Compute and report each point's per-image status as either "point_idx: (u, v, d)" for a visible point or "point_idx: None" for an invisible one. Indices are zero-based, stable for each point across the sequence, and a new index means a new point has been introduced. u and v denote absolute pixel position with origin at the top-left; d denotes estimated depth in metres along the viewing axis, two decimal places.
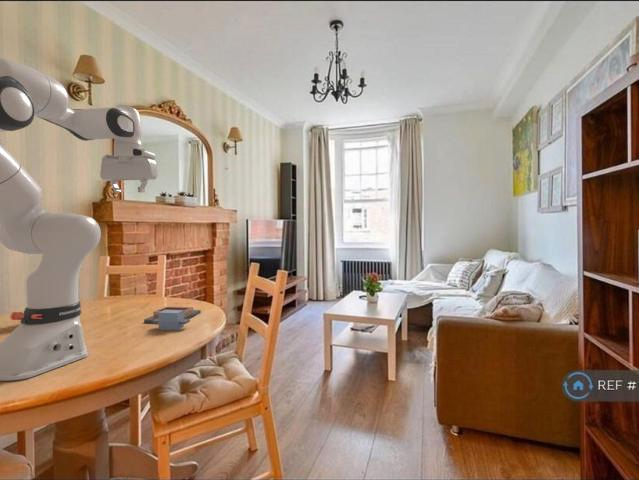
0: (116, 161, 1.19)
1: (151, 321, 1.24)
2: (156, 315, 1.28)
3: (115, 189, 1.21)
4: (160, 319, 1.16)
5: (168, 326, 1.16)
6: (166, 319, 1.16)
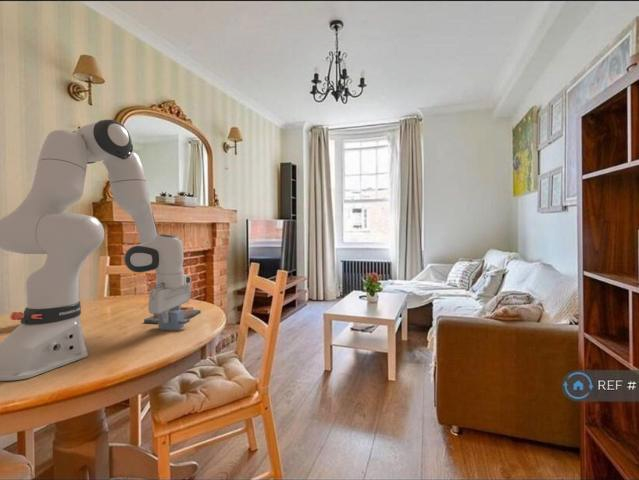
0: (170, 291, 1.14)
1: (151, 321, 1.24)
2: (156, 315, 1.28)
3: (169, 319, 1.15)
4: (160, 319, 1.16)
5: (168, 326, 1.16)
6: None
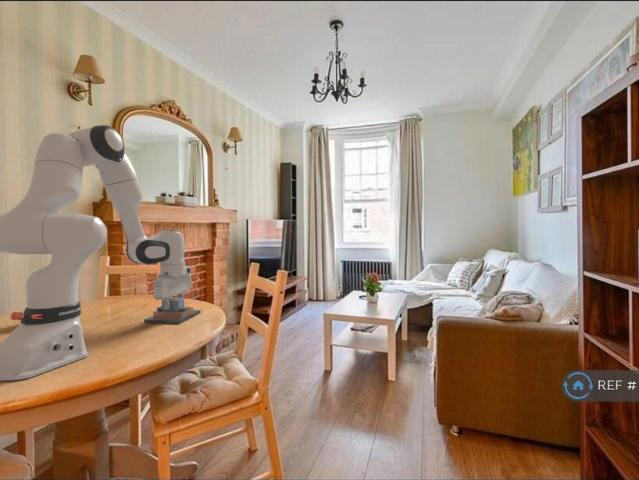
0: (172, 280, 1.27)
1: (151, 321, 1.24)
2: (156, 315, 1.28)
3: (169, 306, 1.27)
4: (163, 306, 1.30)
5: None
6: None
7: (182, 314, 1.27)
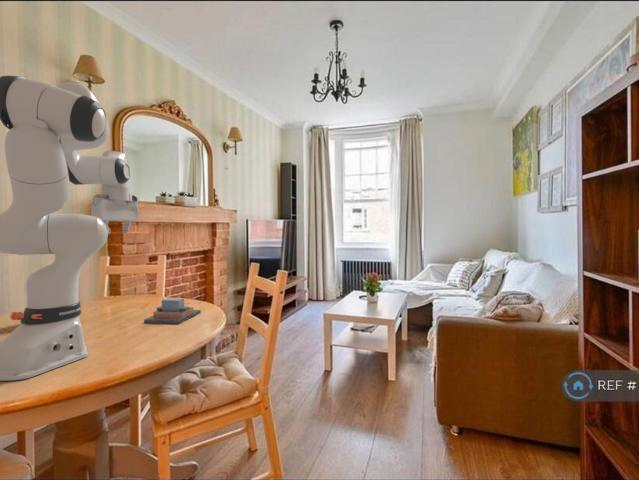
0: (113, 203, 1.22)
1: (151, 321, 1.24)
2: (156, 315, 1.28)
3: (109, 230, 1.21)
4: (163, 306, 1.30)
5: None
6: (169, 306, 1.29)
7: (182, 314, 1.27)
